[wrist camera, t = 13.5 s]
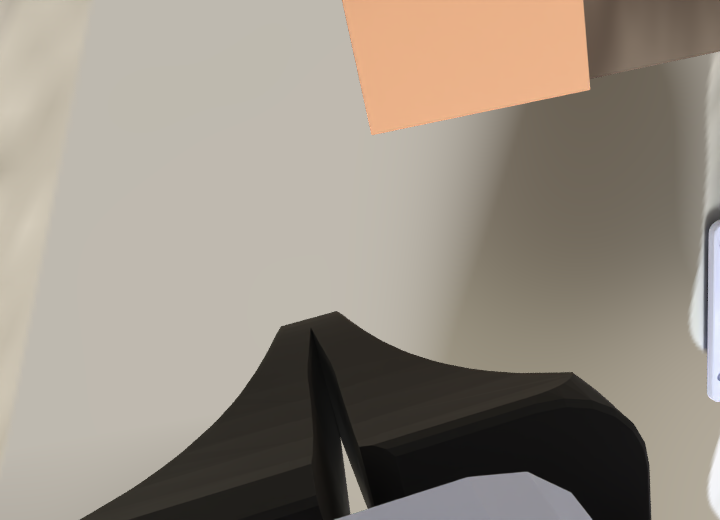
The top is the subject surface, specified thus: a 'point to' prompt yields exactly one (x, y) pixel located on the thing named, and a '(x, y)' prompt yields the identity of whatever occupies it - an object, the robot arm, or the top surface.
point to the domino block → (648, 32)
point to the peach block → (463, 56)
